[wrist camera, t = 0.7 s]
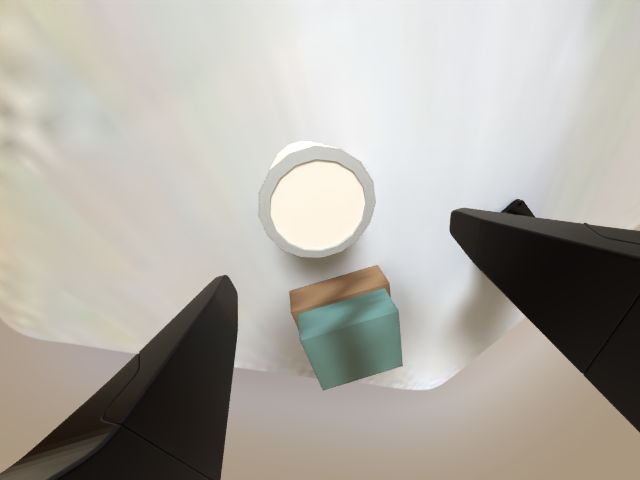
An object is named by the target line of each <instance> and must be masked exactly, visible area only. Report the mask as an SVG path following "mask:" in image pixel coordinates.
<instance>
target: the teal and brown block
mask: <svg viewBox="0 0 640 480" xmlns="http://www.w3.org/2000/svg"><path fill="white" fill-rule="evenodd" d="M289 292H290V305H291V313H292V316H293V318H294V320H295V322H296V325H297V327H298V329H299V333H300V341H301V343H302V345H303V348H304V350H305V352H306V354H307V356H308V359H309V361H310V363H311V365H312V367H313V370H314V372H315V374H316V376H317V378H318V380H319V383H320V385H321V387H322V389H323V390H326V389H329V388H332V387H336V386H339V385H342V384H345V383H349V382H352V381H355V380H358V379H362V378H365V377H368V376H371V375H375V374H378V373H381V372H384V371H388V370H391V369H394V368H397V367H401V366H403V365H402V351H401V337H400V324H399V311H398V309H397V308H396V306H395V304H394V303H393V301H392V299H391V296H390V286H389V282H388V280H387V279H386V277H385V276H384V274H383V273H382V271H381V269H380V268H379V266H378V265H376V266H373V267H369V268H366V269H363V270H359V271H356V272H353V273H349V274H346V275H342V276H339V277H336V278H332V279H329V280H326V281H322V282H319V283H315V284H312V285H309V286H305V287H302V288H299V289H295V290H292V291H289Z"/></svg>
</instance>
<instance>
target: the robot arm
mask: <svg viewBox="0 0 640 480" xmlns="http://www.w3.org/2000/svg"><path fill="white" fill-rule="evenodd" d="M450 233H451V235H452V236H453V238H454V239H455V240H456V241H457V243H458V244H459V245H460V246H461V248H462V249H463V250H464V252H465V253H466V254H467V255H468V257H469V258H470V259H471V260H472V261H473V263H474V264H475V265H476V266H477V267H478V268H479V269H480V270H481V271H482V272H483V273H484V274H485V275H486V276H487V277H488V278H489V279H490V280H491V281H492V282H493V283H494V284H495V285H496V286H497V287H498V288H499V289H500V290H501V291H502V292H503V293H504V295H505V296H506V297H507V298H508V299H509V300H510V301H511V302H512V303H513V304H514V305H515V306H516V307H517V308H518V309H519V310H520V311H521V312H522V313H523V314H524V315H525V316H526V317H527V318H528V319H529V320H530V321H531V322H532V323H533V324H534V325H535V326H536V327H537V328H538V329H539V330H540V331H541V332H542V333H543V334H544V335H545V336H546V337H547V338H548V339H549V340H550V341H551V342H552V343H553V344H554V345H555V346H556V347H557V349H558V350H559V351H560V352H562V354H563V355H564V356H565V357H566V358H567V359H568V360H569V361H570V362H571V363H572V364H573V365H574V366H575V367H576V368H577V369H578V370H579V371H580V372H581V373H583V374H584V376H585V377H586V378H587V379H588V380H589V381H590V382H591V383H592V384H593V385H594V386H595V387H596V388H597V390H598V391H599V392H600V393H602V394H603V396H604V397H605V398H606V399H607V400H608V401H609V402H610V403H611V404H612V405H613V406H614V407H615V408H616V409H617V410H618V411H619V412H620V413H621V414H622V415H623V416H624V417H625V418H626V419H627V420H628V421H629V422H630V423H631V424H632V425H633V426H634V427H635V428H636V429H637V430H638V431H639V432H640V231H636V230H627V229H619V228H611V227H603V226H596V225H589V224H587V223H584V224H580V223H573V222H565V221H558V220H551V219H543V218H536V217H535V216H534V215H533V214H532V212H531V211H530V209H529V208H528V207H527V205H526V204H525V202H524V201H522V200H520V199H517V200H515V201H513V202H512V203H511V204H510V205H509V206H508V207H507V208H506V209H504V210H503V211H502V212H501V213H499V212H491V211H484V210H476V209H469V208H460V209H457V210H453V211H452V212H451V217H450ZM237 332H238V295H237V291H236V289H235V287H234V285H233V283H232V282H231V280H230V278H229V277H228V276H227V275H223V276H219V277H216V278H215V279H214V280H213V281H212V282H211V283H210V284H208V285H207V286H206V287H205V288H204V289H203V290H202V291H201V292H200V293H199V294H198V295H197V296H196V297H195V298H194V299H193V300H192V301H191V302H190V303H189V304H188V305H187V306H186V307H185V308H184V309H183V310H182V311H181V312H180V313H179V314H178V315H177V316H176V317H175V318H174V319H172V320H171V321H170V322H169V323H168V324H167V325H166V326H165V327H164V328H163V329H162V330H161V331H160V332H159V333H158V334H157V335H156V336H155V337H154V338H153V339H152V340H151V341H150V342H149V343H148V344H147V345H146V346H145V347H144V348H143V349H142V350H141V351H140V352H139V354H136V355H135V356H134V357H133V358H132V359H131V360H130V361H129V362H128V363H127V364H126V365H125V366H124V367H123V368H122V369H121V370H120V371H119V372H118V373H117V374H116V375H115V376H114V377H112V378H111V379H110V380H109V381H108V382H107V383H106V384H105V385H104V386H103V387H102V388H100V389H99V390H98V391H97V392H96V393H95V394H94V395H93V396H92V397H90V398H89V399H88V400H87V401H86V402H85V403H84V404H83V405H82V406H80V407H79V408H78V409H77V410H76V411H75V412H74V413H72V414H71V415H70V416H69V417H68V418H67V419H66V420H65V421H63V422H62V423H61V424H60V425H59V426H58V427H57V428H56V429H54V430H53V431H52V432H51V433H50V434H49V435H48V436H47V437H45V438H44V439H43V440H42V441H41V442H40V443H39V444H38V445H36V446H35V447H34V448H33V449H32V450H31V451H30V452H28V453H27V454H26V455H25V456H24V457H22V458H21V459H20V460H19V461H17V462H16V463H15V464H13V465H12V466H11V467H9V468H8V469H6V470H5V471H3V472H2V473H0V480H220V479H221V469H222V462H223V453H224V445H225V435H226V427H227V419H228V411H229V410H228V409H229V401H230V393H231V384H232V375H233V368H234V359H235V351H236V342H237Z"/></svg>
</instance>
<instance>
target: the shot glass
mask: <svg viewBox="0 0 640 480" xmlns="http://www.w3.org/2000/svg"><path fill="white" fill-rule="evenodd" d="M375 203H376V201H375V193H374V186H373V180H372V179H371V177H370V176H369V174H368V172H367V171H366V169H365V168H364V166H363V164H362V163H361V162H360V161H359V160H357V159H356V158H354V157H353V156H351V155H349V154H348V153H346V152H345V151H343V150H342V149H339V148H335V147H332V146H328V145H324V144H320V143H316V142H309V141H299V142H296V143H293V144H289V145H288V146H287V147H285V148H284V149H283V150H282V151H281V152H280V153H278V155H277V157H276V159H275V160H274V162H273V164H272V166H271V168H270V170H269V172H268V174H267V176H266V179H265V181H264V183H263V185H262V187H261V189H260V191H259V208H258V216H259V218H260V221H261V223H262V225H263V228H264V230H265V232H266V234H267V236H268V237H269V238H270V239H271V240H272V241H273V242H274V243H276V244H277V245H278V246H279V247H280V248H281V249H282V250H284V251H287V252H289V253H292V254H295V255H297V256H300V257H317V258H322V257H325V256H329V255H332V254H335V253H338V252H341V251H343V250H344V249H346V248H347V247H348V246H350V245H351V244H353V243H354V242H355V241H357V240H358V239H359V238H360V236H361V235H362V233H363V232H364V231H365V229H366V228H367V226H368V225H369V224H370V222H371V218H372V214H373V210H374V207H375Z"/></svg>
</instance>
